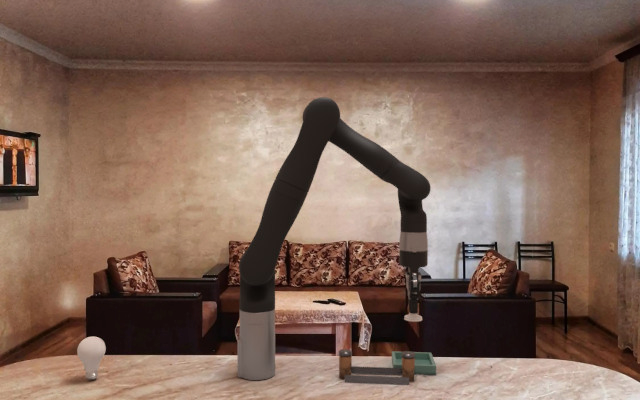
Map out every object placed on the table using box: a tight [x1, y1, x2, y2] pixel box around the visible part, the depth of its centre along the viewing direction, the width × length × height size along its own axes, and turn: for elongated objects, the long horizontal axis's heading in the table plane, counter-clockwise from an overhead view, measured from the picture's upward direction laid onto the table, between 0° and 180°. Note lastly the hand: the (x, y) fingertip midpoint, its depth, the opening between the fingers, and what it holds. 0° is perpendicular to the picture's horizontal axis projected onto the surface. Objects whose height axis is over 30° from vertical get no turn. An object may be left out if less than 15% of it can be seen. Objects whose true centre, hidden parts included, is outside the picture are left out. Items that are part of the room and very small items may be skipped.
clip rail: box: [338, 348, 416, 386], centre depth 133 cm, size 19×7×7 cm, turn 85°
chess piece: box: [403, 292, 423, 323], centre depth 141 cm, size 5×5×10 cm
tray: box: [391, 351, 437, 376], centre depth 142 cm, size 11×11×2 cm
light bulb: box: [76, 336, 107, 381], centre depth 132 cm, size 7×7×11 cm
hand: (413, 311), depth 141 cm, fingers closed on chess piece
